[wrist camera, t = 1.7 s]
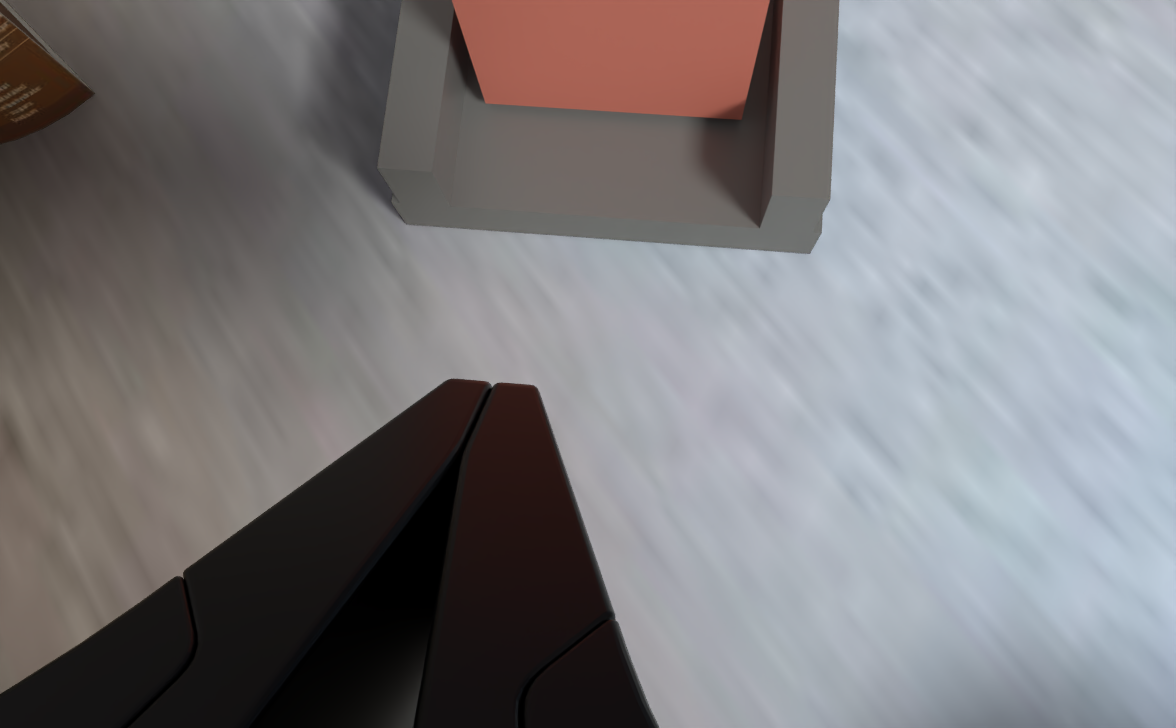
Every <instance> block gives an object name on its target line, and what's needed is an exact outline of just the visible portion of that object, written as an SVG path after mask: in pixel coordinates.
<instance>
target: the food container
mask: <svg viewBox="0 0 1176 728" xmlns="http://www.w3.org/2000/svg"><path fill="white" fill-rule="evenodd" d="M94 94H95V93H94V92H93V91H92V90H91V89H90V88H89V87H88V86H87V85H86V84H85V83H84V81H83V80H82V79H81V78H80V77H79V76H78V75H77V74H76V73H75V72H74V71H73V70H72V69H71V68H70V67H69V66H68V65H67V64H66V63H65V62H64V61H63V60H62V59H61V58H60V57H59V56H58V55H57V54H56V53H55V52H54V51H53V49H52V48H51V47H50V46H49V45H48V44H47V43H46V42H45V41H44V40H43V39H42V38H41V37H40V36H39V35H38V34H37V33H36V32H35V31H34V30H33V29H32V28H31V27H30V26H29V25H28V24H27V23H26V22H25V21H24V20H23V19H22V18H21V16H20V15H19V14H18V13H17V12H16V11H15V10H14V9H13V8H12V7H11V6H10V5H9V4H8V3H7V2H6V1H5V0H0V144H2V143H6V142H10V141H13V140H17V139H19V138H22V137H24V136H26V135H29V134H31V133H34V132H36V131H39V130H41V129H43V128H45V127H47V126H49V125H50V124H52V123H54V122H55V121H57V120H59V119H61V118H62V117H64V116H66V115H68V114H69V113H71V112H72V111H73V110H74V109H76V108H77V107H78V106H80V105H81V104H82V103H84V102H85V101H86V100H87V99H89V98H90V97H91V96H93V95H94Z"/></svg>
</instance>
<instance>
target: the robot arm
mask: <svg viewBox="0 0 1176 728" xmlns="http://www.w3.org/2000/svg"><path fill="white" fill-rule="evenodd" d="M183 577H184V579H183V578H182V577H180V576H176V577H174V578H173V579H171V580H170V581H168V582H167V583H166V584H164V585H163V586H162V587H160V588H159V589H157V590H156V591H155V592H153V593H152V594H151V595H149V596H148V597H146V598H145V599H144V600H142V601H141V602H139V603H138V604H137V605H135V606H134V607H132V608H131V609H129V610H128V611H126V612H125V613H124V614H122V615H121V616H119V617H118V618H116V619H115V620H113V621H112V622H111V623H109V624H108V625H106V626H105V627H103V628H102V629H100V630H99V631H98V632H96V633H95V634H93V635H92V636H90V637H89V638H87V639H86V640H85V641H83V642H82V643H80V644H79V645H77V646H75V647H74V648H72V649H71V650H69V651H68V652H66V653H64V654H63V655H61V656H60V657H58V658H56V659H55V660H53V661H52V662H50V663H49V664H47V665H45V666H44V667H42V668H41V669H39V670H38V671H36V672H34V673H33V674H31V675H30V676H28V677H26V678H25V679H23V680H22V681H20V682H19V683H17V684H15V685H14V686H12V687H11V688H9V689H7V690H6V691H4V692H3V693H1V694H0V728H659V726H658V724H657V721H656V719H655V717H654V715H653V713H652V711H651V709H650V707H649V704H648V702H647V699H646V697H645V694H644V692H643V689H642V686H641V684H640V681H639V679H638V676H637V674H636V671H635V668H634V666H633V663H632V661H631V658H630V656H629V653H628V650H627V647H626V644H625V641H624V638H623V635H622V632H621V629H620V626H619V624H618V622H617V621H616V620H615V613H614V610H613V607H612V604H611V601H610V598H609V596H608V593H607V590H606V587H605V584H604V581H603V578H602V575H601V572H600V569H599V566H598V563H597V560H596V557H595V554H594V551H593V548H592V545H591V543H590V540H589V537H588V534H587V531H586V528H585V525H584V522H583V519H582V516H581V513H580V510H579V507H578V504H577V501H576V498H575V495H574V492H573V490H572V487H571V484H570V481H569V478H568V475H567V472H566V469H565V466H564V463H563V460H562V457H561V454H560V451H559V448H558V445H557V442H556V439H555V437H554V434H553V431H552V428H551V425H550V422H549V419H548V416H547V413H546V410H545V407H544V404H543V401H542V398H541V395H540V392H539V390H538V389H537V387H535V386H533V385H525V384H512V383H497V384H495V385H494V386H493V387H492V386H491V384H490V383H488V382H486V381H476V380H464V379H449V380H447V381H445V382H443V383H442V384H441V385H439V386H438V387H436V388H435V389H434V390H432V391H431V392H430V393H428V394H427V395H425V396H424V397H423V398H421V399H420V400H418V401H417V402H416V403H414V404H413V405H412V406H410V407H409V408H407V409H406V410H405V411H403V412H402V413H401V414H399V415H398V416H396V417H395V418H394V419H392V420H391V421H390V422H388V423H387V424H385V425H384V426H383V427H381V428H380V429H379V430H377V431H376V432H374V433H373V434H372V435H370V436H369V437H367V438H366V439H365V440H363V441H362V442H361V443H359V444H358V445H356V446H355V447H354V448H352V449H351V450H350V451H348V452H347V453H345V454H344V455H343V456H341V457H340V458H339V459H337V460H336V461H334V462H333V463H332V464H330V465H329V466H328V467H326V468H325V469H323V470H322V471H321V472H319V473H318V474H316V475H315V476H314V477H312V478H311V479H310V480H308V481H307V482H305V483H304V484H303V485H301V486H300V487H299V488H297V489H296V490H294V491H293V492H292V493H290V494H289V495H288V496H286V497H285V498H283V499H282V500H281V501H279V502H278V503H277V504H275V505H274V506H272V507H271V508H270V509H268V510H267V511H265V512H264V513H263V514H261V515H260V516H259V517H257V518H256V519H254V520H253V521H252V522H250V523H249V524H248V525H246V526H245V527H243V528H242V529H241V530H239V531H238V532H237V533H235V534H234V535H232V536H231V537H230V538H228V539H227V540H226V541H224V542H223V543H221V544H220V545H219V546H217V547H216V548H214V549H213V550H212V551H210V552H209V553H208V554H206V555H205V556H203V557H202V558H201V559H199V560H198V561H197V562H195V563H194V564H192V565H191V566H190V567H188V568H187V569H186V570H185V571H184V572H183Z"/></svg>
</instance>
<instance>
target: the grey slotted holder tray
mask: <svg viewBox="0 0 1176 728" xmlns="http://www.w3.org/2000/svg"><path fill="white" fill-rule="evenodd" d="M838 17H839V0H770V2H769V6H768V10H767V14H766V19H765V23H764V27H763V31H762V36H761V40H760V44H759V48H758V52H757V57H756V61H755V65H754V69H753V74H752V78H751V82H750V86H749V90H748V95H747V99H746V103H745V107H744V111H743V116H742V120H736V119H721V118H705V117H689V116H674V115H658V114H642V113H627V112H611V111H596V110H580V109H564V108H549V107H533V106H517V105H502V104H486V103H485V100H484V97H483V94H482V91H481V88H480V85H479V82H478V79H477V76H476V73H475V70H474V67H473V63H472V60H471V57H470V54H469V51H468V48H467V45H466V42H465V39H464V36H463V33H462V30H461V27H460V24H459V21H458V18H457V15H456V12H455V9H454V6H453V2H452V0H402V2H401V9H400V15H399V22H398V29H397V36H396V43H395V49H394V56H393V63H392V70H391V76H390V83H389V90H388V97H387V103H386V110H385V117H384V124H383V130H382V137H381V144H380V151H379V158H378V164H377V169H378V170H379V172H380V174H381V175H382V177H383V178H384V180H385V181H386V183H387V184H388V186H389V187H390V189H391V190H392V192H393V194H392V201H391V202H392V204H393V205H394V207H395V208H396V210H397V211H398V213H399V214H400V216H401V217H402V219H403V220H404V222H405V223H406V224H409V225H422V226H436V227H450V228H463V229H477V230H491V231H504V232H518V233H532V234H545V235H559V236H573V237H586V238H600V239H614V240H627V241H641V242H655V243H668V244H682V245H696V246H709V247H723V248H737V249H751V250H764V251H778V252H792V253H805V254H810V253H811V251H812V249H813V247H814V246H815V244H816V242H817V240H818V238H819V237H820V235H821V233H822V214H823V212H824V210H825V208H826V206H827V205H828V203H829V201H830V193H831V171H832V149H833V127H834V105H835V83H836V61H837V39H838Z"/></svg>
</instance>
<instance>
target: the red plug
mask: <svg viewBox="0 0 1176 728" xmlns="http://www.w3.org/2000/svg"><path fill="white" fill-rule="evenodd" d="M452 2H453V6H454V9H455V12H456V15H457V18H458V21H459V24H460V27H461V30H462V33H463V36H464V39H465V42H466V45H467V48H468V51H469V54H470V57H471V60H472V63H473V67H474V70H475V73H476V76H477V79H478V82H479V85H480V88H481V91H482V94H483V97H484V100H485V103H486V104H502V105H517V106H533V107H549V108H564V109H580V110H596V111H611V112H627V113H642V114H658V115H674V116H689V117H705V118H721V119H736V120H742V116H743V111H744V107H745V103H746V99H747V95H748V90H749V86H750V82H751V78H752V74H753V69H754V65H755V61H756V57H757V52H758V48H759V44H760V40H761V36H762V31H763V27H764V23H765V19H766V14H767V10H768V6H769V2H770V0H452Z"/></svg>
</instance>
